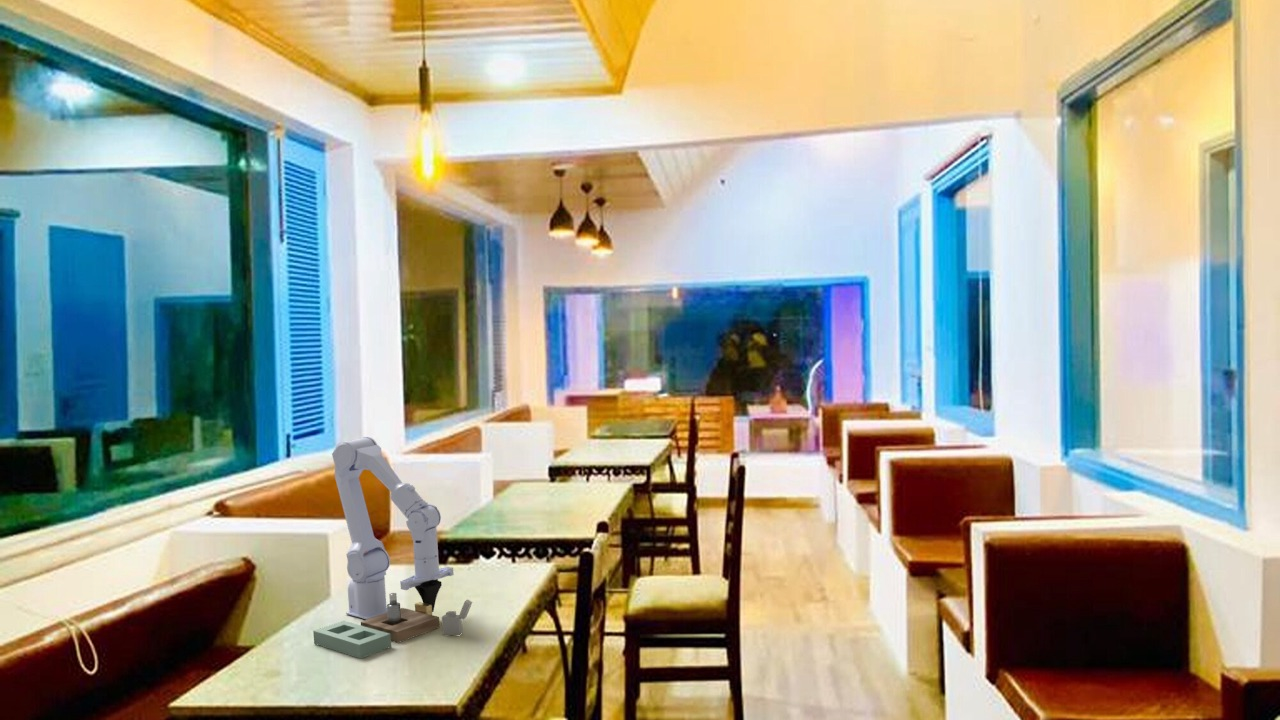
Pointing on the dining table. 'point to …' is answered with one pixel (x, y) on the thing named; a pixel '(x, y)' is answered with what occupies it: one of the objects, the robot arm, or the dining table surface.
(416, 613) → the socket block
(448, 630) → the lighter
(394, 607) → the grey stepped cylinder
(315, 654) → the dining table surface
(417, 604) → the light wooden block
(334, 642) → the drill rack
